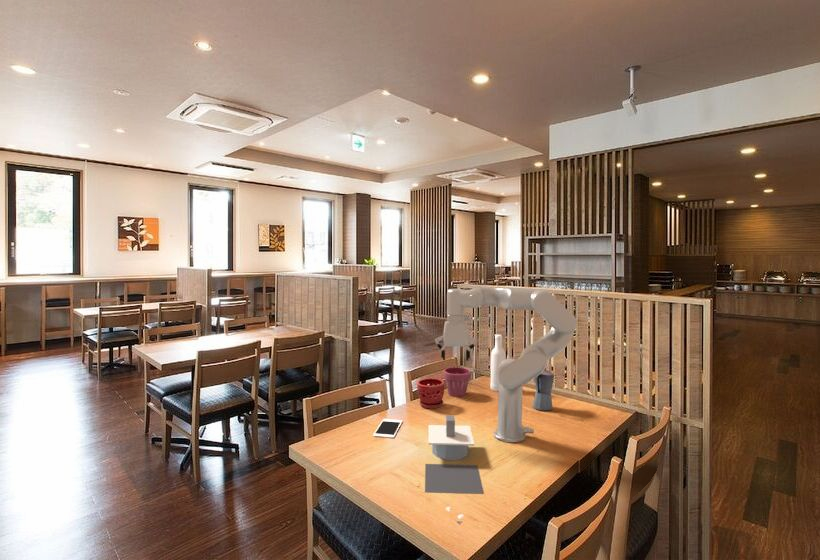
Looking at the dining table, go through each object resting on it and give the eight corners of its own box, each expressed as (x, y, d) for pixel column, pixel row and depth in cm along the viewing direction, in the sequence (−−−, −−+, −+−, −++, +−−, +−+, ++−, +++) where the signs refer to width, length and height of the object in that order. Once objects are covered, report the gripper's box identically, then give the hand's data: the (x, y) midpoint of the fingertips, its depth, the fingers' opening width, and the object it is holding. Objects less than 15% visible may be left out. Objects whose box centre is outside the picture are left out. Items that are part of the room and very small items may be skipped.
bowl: (466, 446, 166) (466, 428, 166) (469, 462, 153) (469, 443, 153) (432, 445, 167) (432, 428, 167) (432, 461, 154) (432, 442, 154)
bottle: (488, 387, 241) (489, 333, 240) (502, 386, 242) (503, 333, 240) (492, 391, 233) (493, 336, 232) (506, 391, 234) (507, 336, 232)
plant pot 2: (462, 400, 219) (463, 375, 218) (438, 395, 227) (438, 371, 226) (474, 392, 231) (475, 369, 230) (451, 388, 239) (451, 365, 238)
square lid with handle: (469, 427, 168) (470, 410, 167) (474, 445, 152) (474, 427, 151) (428, 426, 168) (428, 409, 168) (428, 444, 152) (428, 426, 152)
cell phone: (402, 422, 191) (402, 420, 191) (393, 439, 174) (393, 437, 174) (383, 420, 193) (383, 418, 193) (372, 437, 175) (372, 435, 175)
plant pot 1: (426, 399, 221) (426, 376, 220) (449, 404, 213) (449, 380, 212) (411, 406, 210) (412, 382, 209) (434, 412, 202) (434, 387, 202)
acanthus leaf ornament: (459, 527, 118) (459, 520, 118) (442, 515, 124) (442, 509, 124) (478, 516, 123) (478, 510, 123) (461, 505, 128) (461, 499, 128)
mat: (477, 467, 150) (477, 465, 150) (483, 497, 132) (483, 493, 132) (425, 466, 151) (425, 463, 151) (424, 495, 133) (424, 492, 133)
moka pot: (557, 405, 212) (558, 365, 211) (548, 415, 199) (549, 372, 198) (537, 402, 217) (538, 362, 216) (528, 411, 204) (529, 369, 203)
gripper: (476, 317, 182) (475, 357, 183) (434, 317, 182) (434, 357, 183) (478, 320, 174) (477, 362, 175) (435, 319, 175) (434, 361, 176)
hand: (455, 359), depth 179 cm, fingers open, 9 cm apart
